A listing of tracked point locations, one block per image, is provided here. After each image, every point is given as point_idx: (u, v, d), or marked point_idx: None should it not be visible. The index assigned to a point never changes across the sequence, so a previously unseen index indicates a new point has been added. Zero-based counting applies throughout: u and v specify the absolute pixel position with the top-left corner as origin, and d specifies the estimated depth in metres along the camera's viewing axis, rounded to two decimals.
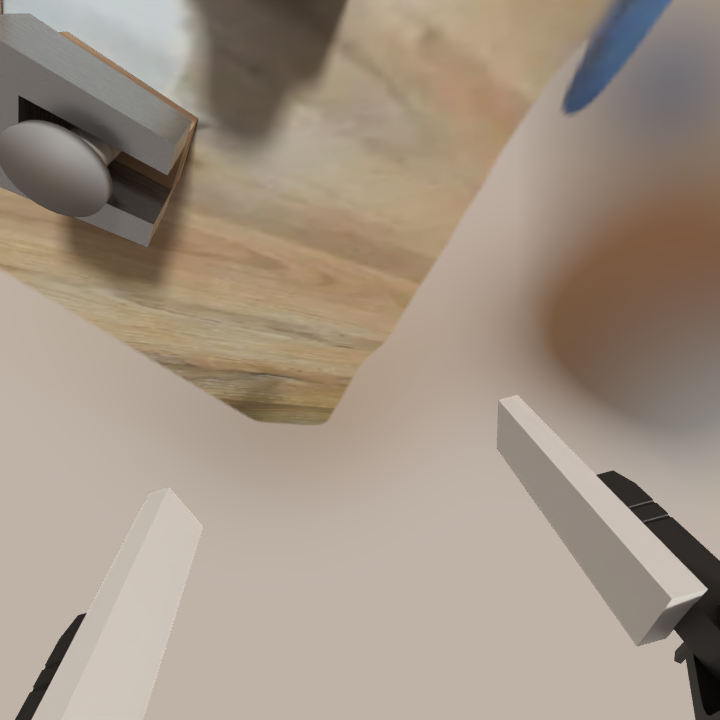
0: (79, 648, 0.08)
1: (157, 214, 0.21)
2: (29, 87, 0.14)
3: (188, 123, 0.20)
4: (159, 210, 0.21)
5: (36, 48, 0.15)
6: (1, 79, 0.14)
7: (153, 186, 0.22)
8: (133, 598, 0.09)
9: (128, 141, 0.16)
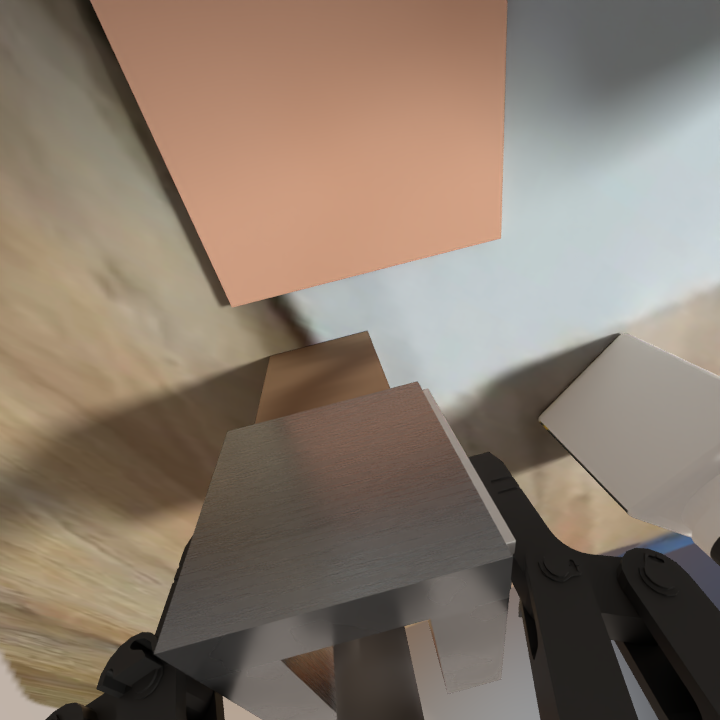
0: None
1: None
2: (456, 618, 0.07)
3: None
4: None
5: None
6: (440, 604, 0.06)
7: None
8: None
9: (464, 669, 0.09)
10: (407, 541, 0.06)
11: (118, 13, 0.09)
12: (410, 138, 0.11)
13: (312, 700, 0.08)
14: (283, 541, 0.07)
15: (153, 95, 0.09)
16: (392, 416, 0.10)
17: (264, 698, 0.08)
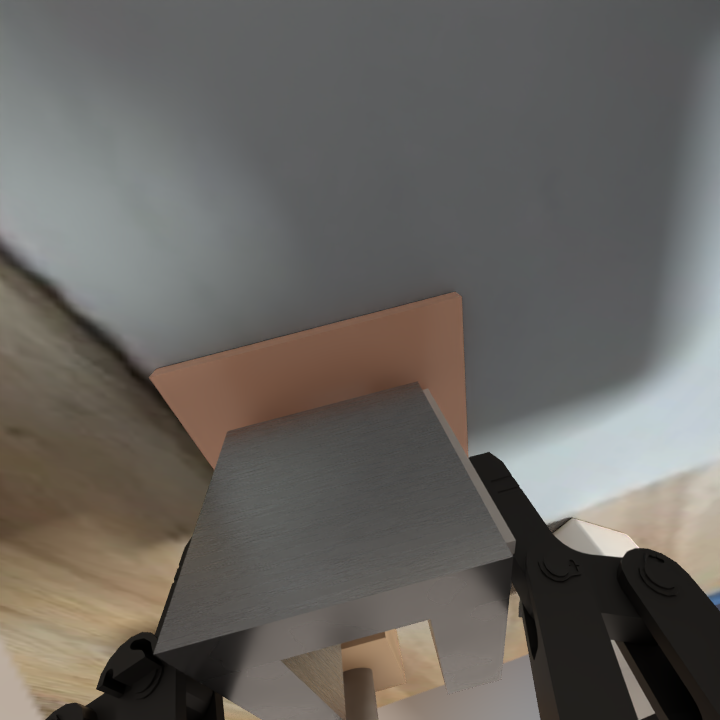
0: None
1: (341, 661, 0.11)
2: (457, 618, 0.07)
3: None
4: None
5: None
6: (440, 604, 0.06)
7: None
8: None
9: (464, 669, 0.09)
10: (408, 541, 0.06)
11: (204, 434, 0.13)
12: None
13: (312, 700, 0.08)
14: (283, 541, 0.07)
15: None
16: (393, 416, 0.10)
17: (264, 698, 0.08)
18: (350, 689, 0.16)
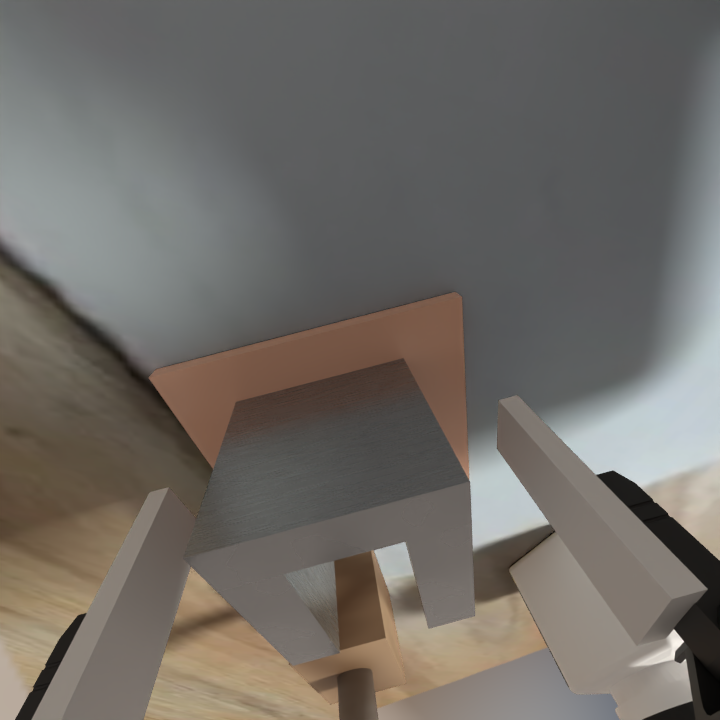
0: (79, 648, 0.08)
1: (336, 606, 0.13)
2: (429, 542, 0.08)
3: None
4: (335, 588, 0.13)
5: None
6: (414, 526, 0.08)
7: None
8: (133, 598, 0.09)
9: (441, 601, 0.10)
10: (387, 475, 0.08)
11: (204, 435, 0.13)
12: None
13: (310, 623, 0.10)
14: (286, 479, 0.08)
15: None
16: (380, 385, 0.11)
17: (269, 616, 0.09)
18: (350, 690, 0.16)
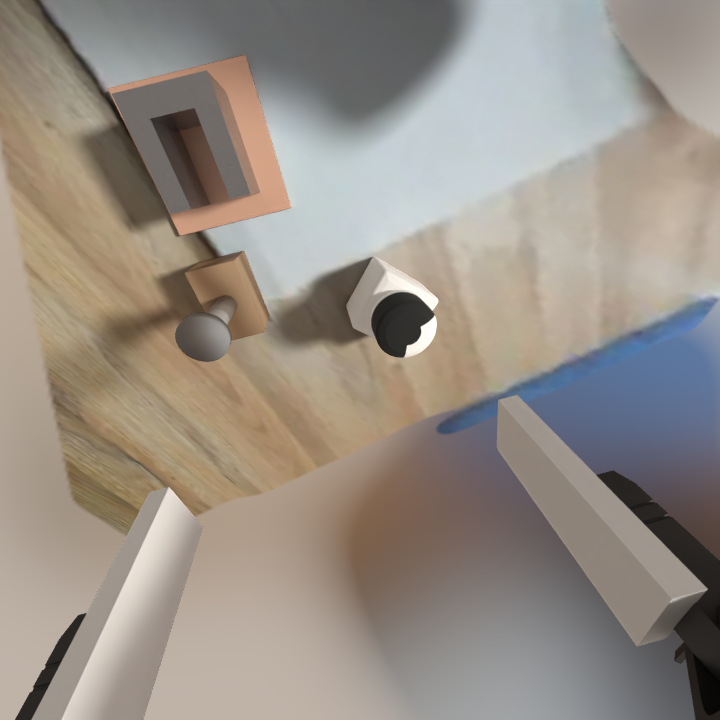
0: (79, 648, 0.08)
1: (196, 207, 0.27)
2: (204, 112, 0.23)
3: (258, 191, 0.30)
4: (198, 206, 0.28)
5: (223, 106, 0.24)
6: (194, 97, 0.23)
7: (202, 193, 0.30)
8: (133, 598, 0.09)
9: (227, 170, 0.25)
10: None
11: None
12: None
13: (169, 169, 0.24)
14: None
15: None
16: None
17: (150, 155, 0.24)
18: (220, 298, 0.31)
